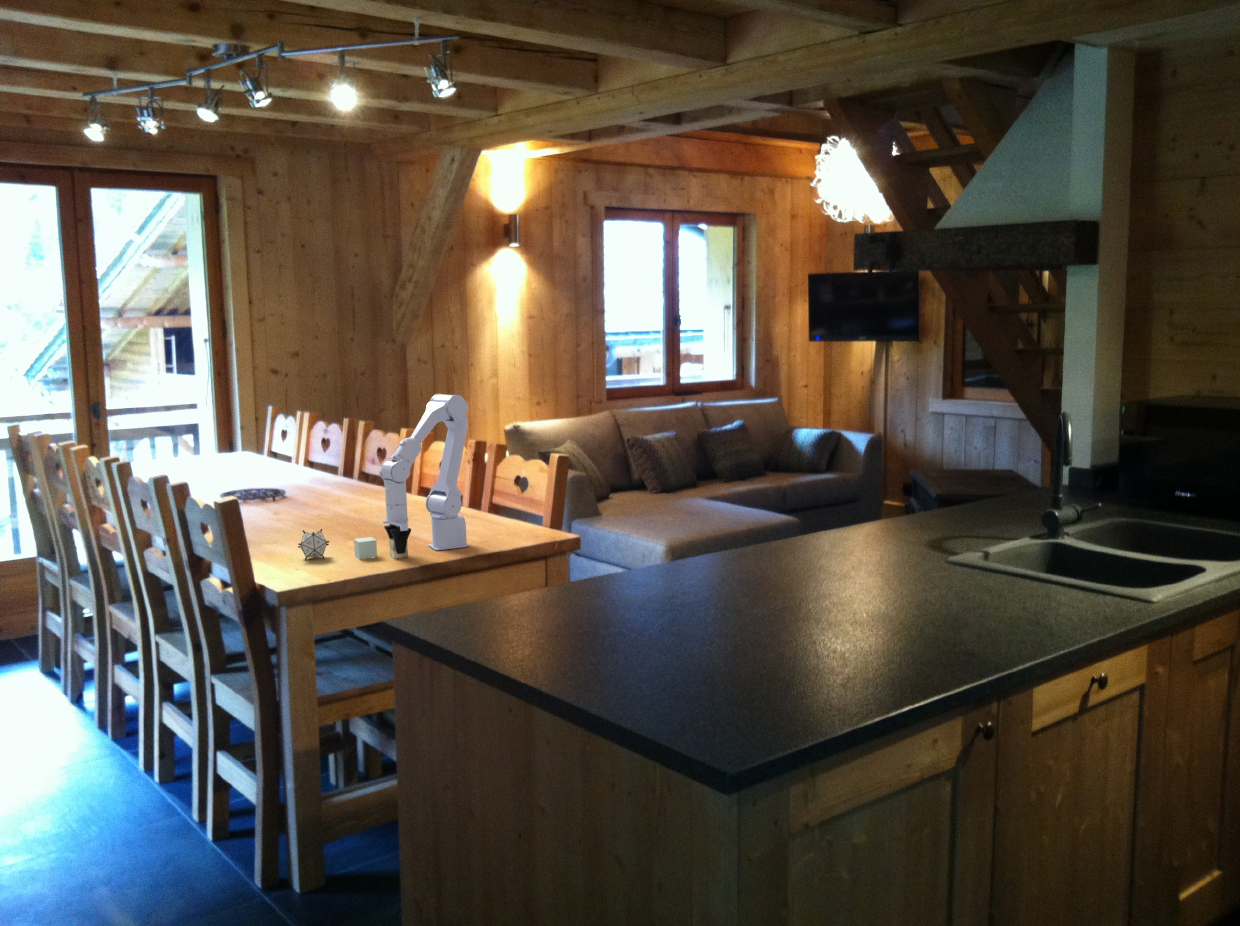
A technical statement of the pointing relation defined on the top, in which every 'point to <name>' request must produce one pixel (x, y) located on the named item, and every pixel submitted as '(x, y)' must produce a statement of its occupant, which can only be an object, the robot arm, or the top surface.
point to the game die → (313, 544)
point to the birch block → (393, 550)
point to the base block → (365, 548)
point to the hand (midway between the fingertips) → (398, 551)
